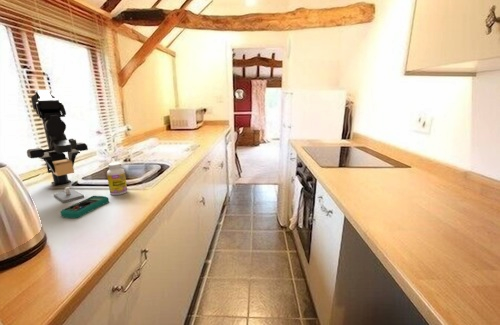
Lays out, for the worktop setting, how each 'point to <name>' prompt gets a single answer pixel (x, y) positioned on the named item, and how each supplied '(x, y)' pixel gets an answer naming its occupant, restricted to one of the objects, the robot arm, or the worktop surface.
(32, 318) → the worktop surface
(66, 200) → the post board
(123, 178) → the supplement bottle
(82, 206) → the digital multimeter
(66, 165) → the tan wooden block
